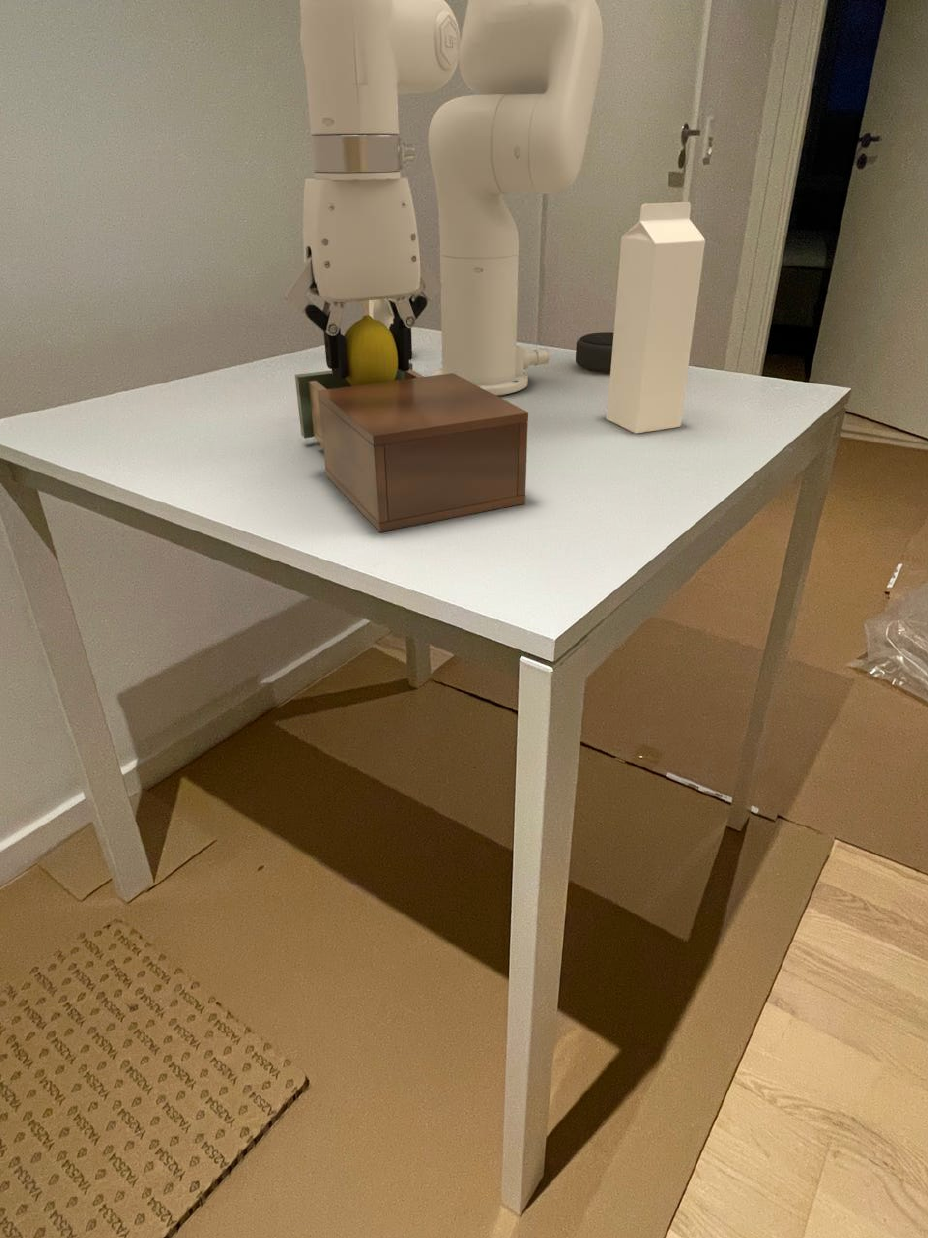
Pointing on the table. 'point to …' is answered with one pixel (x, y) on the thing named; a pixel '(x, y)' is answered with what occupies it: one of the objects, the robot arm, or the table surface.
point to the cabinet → (423, 449)
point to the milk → (654, 318)
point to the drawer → (310, 403)
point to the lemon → (370, 353)
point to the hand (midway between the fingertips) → (370, 369)
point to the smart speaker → (595, 352)
